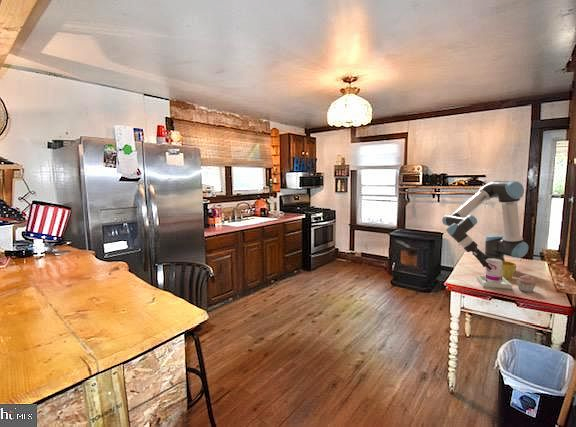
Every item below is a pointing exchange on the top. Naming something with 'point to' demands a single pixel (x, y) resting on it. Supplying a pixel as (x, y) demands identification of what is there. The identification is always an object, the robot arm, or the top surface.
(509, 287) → the dish
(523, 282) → the cupcake
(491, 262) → the supplement can
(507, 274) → the plant pot
